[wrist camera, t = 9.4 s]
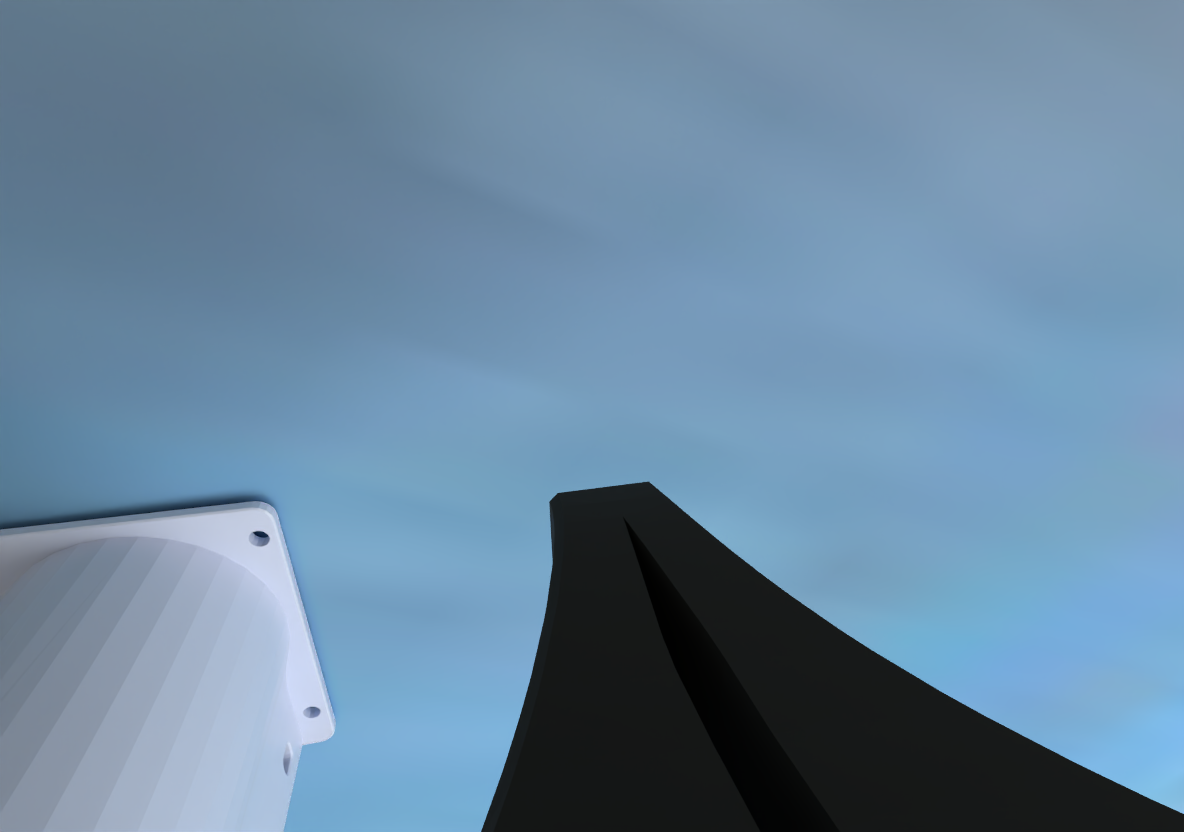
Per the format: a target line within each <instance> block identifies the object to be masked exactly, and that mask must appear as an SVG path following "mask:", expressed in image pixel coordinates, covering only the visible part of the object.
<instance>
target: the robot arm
mask: <svg viewBox="0 0 1184 832" xmlns="http://www.w3.org/2000/svg"><path fill="white" fill-rule="evenodd" d="M549 503H550V521H551V539H552V557H553V566H552V573H551V580H550V587H549V594H548V601H547V607H546V613H545V618H544V623H543V627H542V631H541V636H540V640H539V645H538V649H537V653H536V658H535V662H534V666H533V671H532V675H531V679H530V683H529V686H528V690H527V693H526V697H525V701H524V704H523V708H522V711H521V715H520V718H519V721H518V725H517V728H516V731H515V734H514V738H513V741H512V744H511V747H510V750H509V753H508V757H507V760H506V763H505V766H504V769H503V772H502V775H501V778H500V780H499V783H498V786H497V789H496V792H495V794H494V797H493V800H492V803H491V806H490V808H489V811H488V814H487V817H486V820H485V822H484V825H483V828H482V831H481V832H1184V814H1182V813H1180V812H1178V811H1176V810H1173V809H1171V808H1169V807H1167V806H1165V805H1162V804H1160V803H1158V802H1156V801H1154V800H1151V799H1149V798H1147V797H1145V796H1143V795H1141V794H1139V793H1137V792H1135V791H1133V790H1130V789H1128V788H1126V787H1124V786H1122V785H1120V784H1118V783H1116V782H1114V781H1112V780H1110V779H1108V778H1105V777H1103V776H1101V775H1099V774H1097V773H1095V772H1093V771H1091V770H1089V769H1087V768H1085V767H1083V766H1081V765H1079V764H1077V763H1075V762H1072V761H1070V760H1069V759H1067V758H1065V757H1063V756H1061V755H1059V754H1057V753H1055V752H1053V751H1051V750H1049V749H1047V748H1045V747H1043V746H1042V745H1040V744H1038V743H1036V742H1034V741H1032V740H1030V739H1028V738H1026V737H1024V736H1022V735H1020V734H1018V733H1017V732H1015V731H1013V730H1011V729H1009V728H1007V727H1005V726H1003V725H1001V724H999V723H997V722H995V721H993V720H991V719H990V718H988V717H986V716H984V715H982V714H980V713H978V712H977V711H975V710H973V709H971V708H969V707H968V706H966V705H964V704H962V703H960V702H959V701H957V700H955V699H953V698H951V697H949V696H948V695H946V694H944V693H942V692H941V691H939V690H937V689H936V688H934V687H932V686H930V685H929V684H927V683H925V682H924V681H922V680H920V679H919V678H917V677H915V676H914V675H912V674H910V673H909V672H907V671H905V670H904V669H902V668H900V667H899V666H897V665H895V664H894V663H892V662H890V661H889V660H887V659H885V658H884V657H882V656H880V655H879V654H877V653H875V652H874V651H872V650H871V649H869V648H867V647H866V646H864V645H863V644H861V643H860V642H858V641H856V640H855V639H853V638H852V637H850V636H849V635H847V634H846V633H844V632H843V631H841V630H840V629H838V628H837V627H835V626H834V625H832V624H831V623H829V622H828V621H826V620H825V619H824V618H822V617H821V616H819V615H818V614H816V613H815V612H814V611H812V610H811V609H809V608H808V607H806V606H805V605H803V604H802V603H801V602H799V601H798V600H796V599H795V598H793V597H792V596H790V595H789V594H788V593H786V592H785V591H784V590H782V589H781V588H780V587H778V586H777V585H775V584H774V583H773V582H771V581H770V580H769V579H767V578H766V577H765V576H763V575H762V574H761V573H759V572H758V571H757V570H755V569H754V568H753V567H752V566H750V565H749V564H748V563H747V562H745V561H744V560H743V559H741V558H740V557H739V556H738V555H736V554H735V553H734V552H732V551H731V550H730V549H729V548H727V547H726V546H725V545H724V544H722V543H721V542H720V541H719V540H718V539H716V538H715V537H714V536H713V535H712V534H710V533H709V532H708V531H707V530H706V529H704V528H703V527H702V526H701V525H700V524H698V523H697V522H696V521H695V520H694V519H692V518H691V517H690V516H689V515H688V514H686V513H685V512H684V511H683V510H682V509H681V508H679V507H678V506H677V505H676V504H675V503H673V502H672V501H671V500H670V499H669V498H668V497H666V496H665V495H664V494H663V493H662V492H660V491H659V490H658V489H657V488H656V487H654V486H653V485H652V484H651V483H650V482H642V483H634V484H626V485H618V486H610V487H603V488H595V489H587V490H579V491H571V492H563V493H557V495H556V496H555V497H554V498H553V499H552V500H551V501H550V502H549ZM255 531H263V532H265V533H267V534H268V536H269V537H266V538H261V537H258V536H256V535H255V534H254V533H253V532H255ZM311 707H316V708H311ZM335 724H336V721H335V717H334V714H333V710H332V706H331V703H330V699H329V696H328V692H327V689H326V685H325V682H324V678H323V674H322V671H321V667H320V664H319V660H318V657H317V653H316V650H315V646H314V642H313V639H312V635H311V632H310V628H309V625H308V621H307V618H306V614H305V610H304V607H303V603H302V600H301V596H300V593H299V589H298V586H297V582H296V578H295V575H294V571H293V568H292V564H291V561H290V557H289V554H288V550H287V546H286V543H285V539H284V536H283V532H282V529H281V525H280V522H279V518H278V514H277V513H276V511H275V509H274V508H273V507H272V506H270V505H269V504H267V503H264V502H258V501H252V502H243V503H234V504H225V505H216V506H207V507H198V508H189V509H180V510H171V511H162V512H153V513H145V514H136V515H127V516H118V517H109V518H100V519H91V520H82V521H73V522H64V523H55V524H46V525H37V526H28V527H19V528H10V529H1V530H0V832H283V831H284V827H285V822H286V817H287V813H288V808H289V804H290V799H291V794H292V790H293V785H294V781H295V776H296V772H297V767H298V762H299V758H300V753H301V749H302V745H306V744H311V743H317V742H322V741H325V740H327V739H329V738H330V737H332V735H333V734H334V731H335Z"/></svg>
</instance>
